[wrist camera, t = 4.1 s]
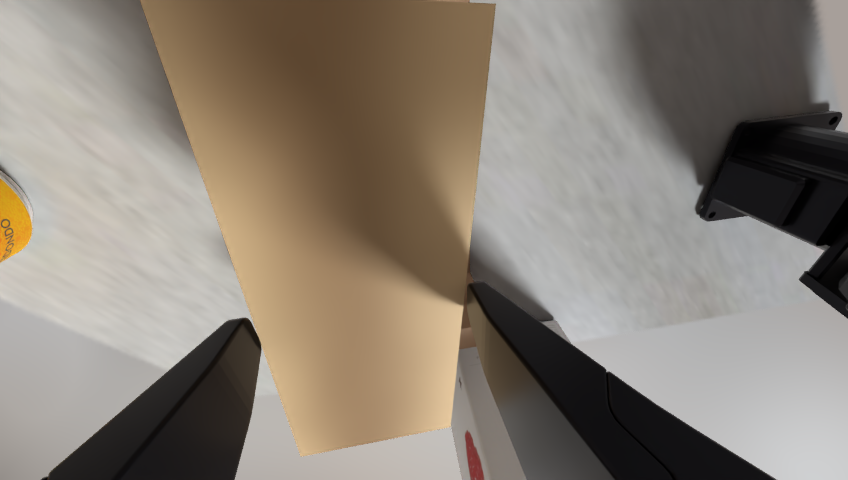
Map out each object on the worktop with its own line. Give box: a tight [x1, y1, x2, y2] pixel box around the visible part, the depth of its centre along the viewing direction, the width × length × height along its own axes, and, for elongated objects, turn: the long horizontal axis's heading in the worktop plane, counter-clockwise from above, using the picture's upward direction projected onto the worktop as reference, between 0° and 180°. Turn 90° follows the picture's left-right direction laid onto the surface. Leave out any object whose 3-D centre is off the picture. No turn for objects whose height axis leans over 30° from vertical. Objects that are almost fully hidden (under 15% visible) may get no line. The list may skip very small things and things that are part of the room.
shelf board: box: [140, 0, 496, 457], centre depth 9 cm, size 5×12×3 cm, turn 179°
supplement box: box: [451, 320, 571, 480], centre depth 21 cm, size 9×9×15 cm
